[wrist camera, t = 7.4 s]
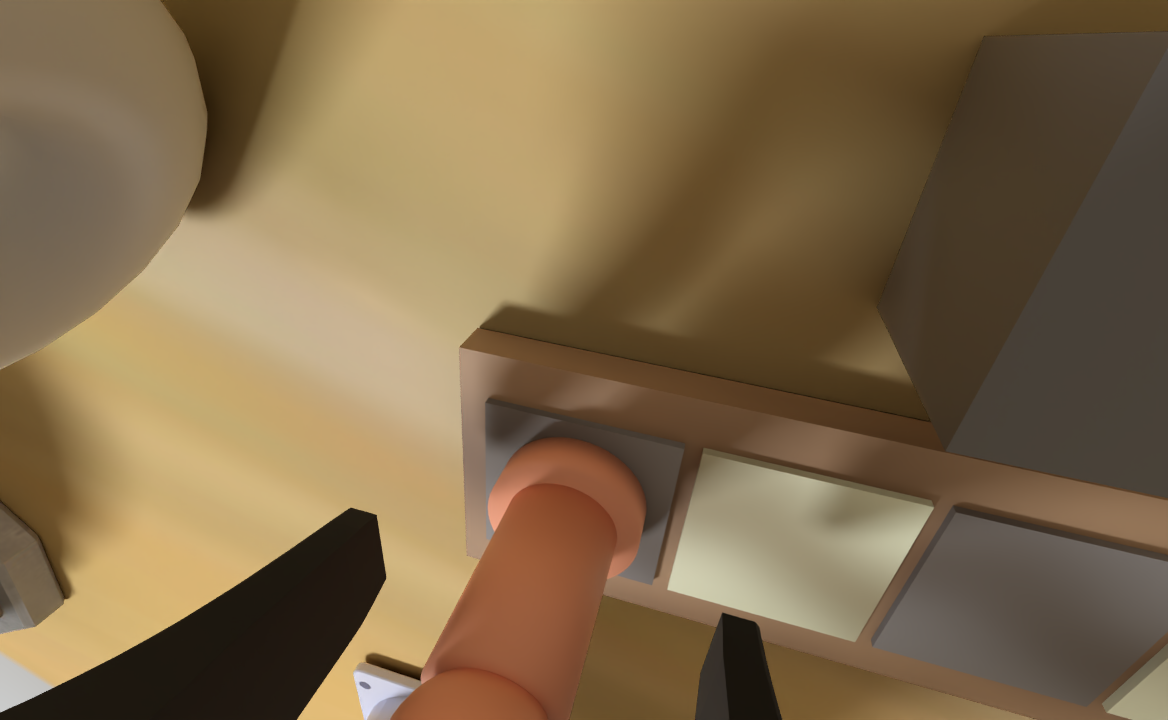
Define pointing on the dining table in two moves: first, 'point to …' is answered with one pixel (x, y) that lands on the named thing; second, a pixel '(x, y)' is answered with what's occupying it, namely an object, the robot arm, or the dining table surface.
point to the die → (1046, 262)
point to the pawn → (534, 587)
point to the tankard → (24, 576)
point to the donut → (89, 156)
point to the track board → (847, 531)
